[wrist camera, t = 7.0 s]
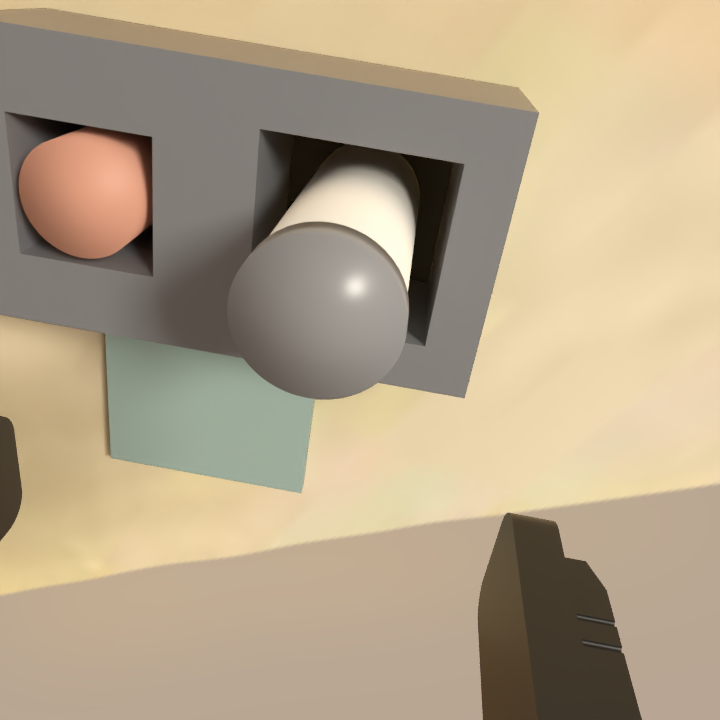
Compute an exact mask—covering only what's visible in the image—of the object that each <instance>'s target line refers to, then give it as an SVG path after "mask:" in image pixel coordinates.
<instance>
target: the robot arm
mask: <svg viewBox="0 0 720 720" xmlns="http://www.w3.org/2000/svg"><path fill="white" fill-rule="evenodd" d="M21 499H22V488H21V480H20V472H19V464H18V457H17V449H16V441H15V434H14V428H13V424H12V422H11V421H10V420H9V419H8V418H6V417H2V416H0V541H1V539H2V538H3V537H4V536H5V535H6V533H7V532H8V531H9V529H10V528H11V527H12V525H13V523H14V521H15V519H16V517H17V515H18V512H19V509H20V505H21ZM614 623H615V620H614V616H613V612H612V608H611V605H610V601H609V598H608V594H607V590H606V589H605V587H604V586H603V585H602V583H601V582H600V581H599V579H598V578H597V576H596V575H595V574H594V572H593V571H592V569H591V568H590V567H589V565H588V564H587V562H586V561H581V560H575V559H570V558H565V557H564V552H563V548H562V543H561V539H560V534H559V529H558V526H557V524H556V522H554V521H549V520H545V519H539V518H534V517H529V516H523V515H518V514H513V513H507V514H506V515H505V516H504V519H503V521H502V524H501V527H500V530H499V533H498V536H497V539H496V542H495V545H494V548H493V552H492V554H491V558H490V561H489V564H488V566H487V570H486V573H485V576H484V579H483V582H482V586H481V592H480V598H479V606H478V632H479V651H480V668H481V669H480V670H481V690H482V709H483V720H642V719H641V715H640V712H639V708H638V704H637V700H636V697H635V693H634V689H633V686H632V682H631V678H630V675H629V671H628V667H627V664H626V660H625V656H624V654H623V653H622V652H621V648H622V645H621V642H620V638H619V635H618V630H617V627H615V626H614Z"/></svg>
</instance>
